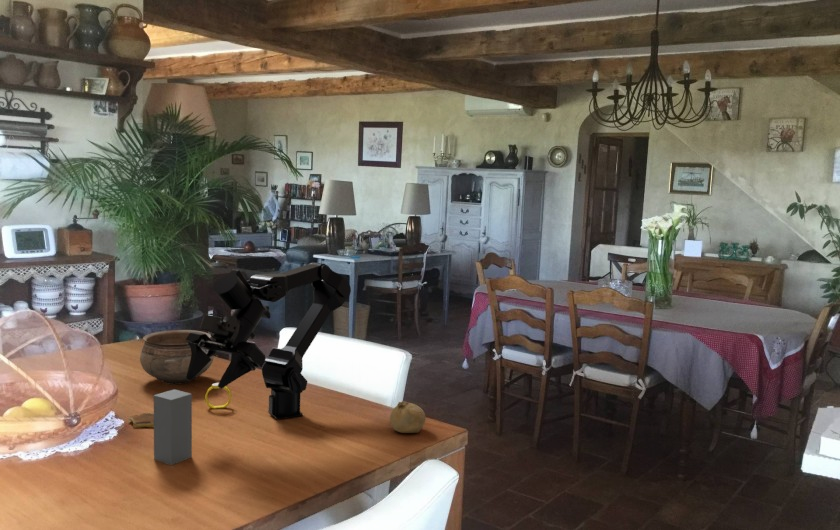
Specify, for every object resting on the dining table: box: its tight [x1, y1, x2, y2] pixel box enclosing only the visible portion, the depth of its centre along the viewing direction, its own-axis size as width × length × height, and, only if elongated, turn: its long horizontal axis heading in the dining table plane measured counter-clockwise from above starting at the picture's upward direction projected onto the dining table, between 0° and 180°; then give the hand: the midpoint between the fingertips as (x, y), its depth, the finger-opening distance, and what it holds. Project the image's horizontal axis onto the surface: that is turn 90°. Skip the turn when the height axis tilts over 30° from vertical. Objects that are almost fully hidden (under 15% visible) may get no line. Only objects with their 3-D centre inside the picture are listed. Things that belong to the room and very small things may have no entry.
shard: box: [127, 412, 154, 429], centre depth 158 cm, size 11×8×2 cm
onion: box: [389, 400, 427, 434], centre depth 160 cm, size 8×8×7 cm
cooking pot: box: [139, 329, 215, 385], centre depth 191 cm, size 25×19×12 cm
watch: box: [204, 382, 232, 410], centre depth 171 cm, size 6×3×6 cm, turn 101°
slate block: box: [153, 388, 193, 466], centre depth 139 cm, size 5×5×13 cm
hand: (203, 383), depth 145 cm, fingers open, 9 cm apart
